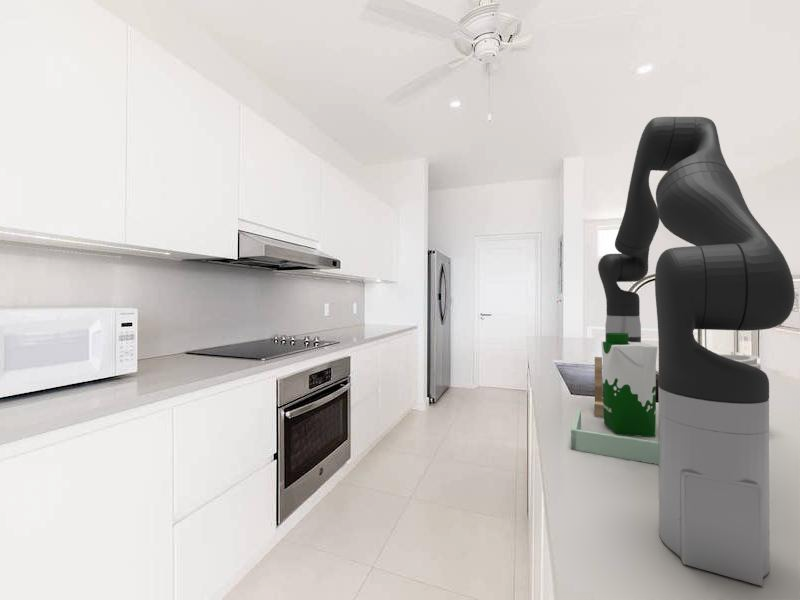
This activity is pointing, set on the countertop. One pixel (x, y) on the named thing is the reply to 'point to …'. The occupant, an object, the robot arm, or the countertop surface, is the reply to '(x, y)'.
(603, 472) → the countertop surface
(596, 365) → the brown box
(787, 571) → the countertop surface
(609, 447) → the tray
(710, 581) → the countertop surface
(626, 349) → the soya milk
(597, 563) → the countertop surface
